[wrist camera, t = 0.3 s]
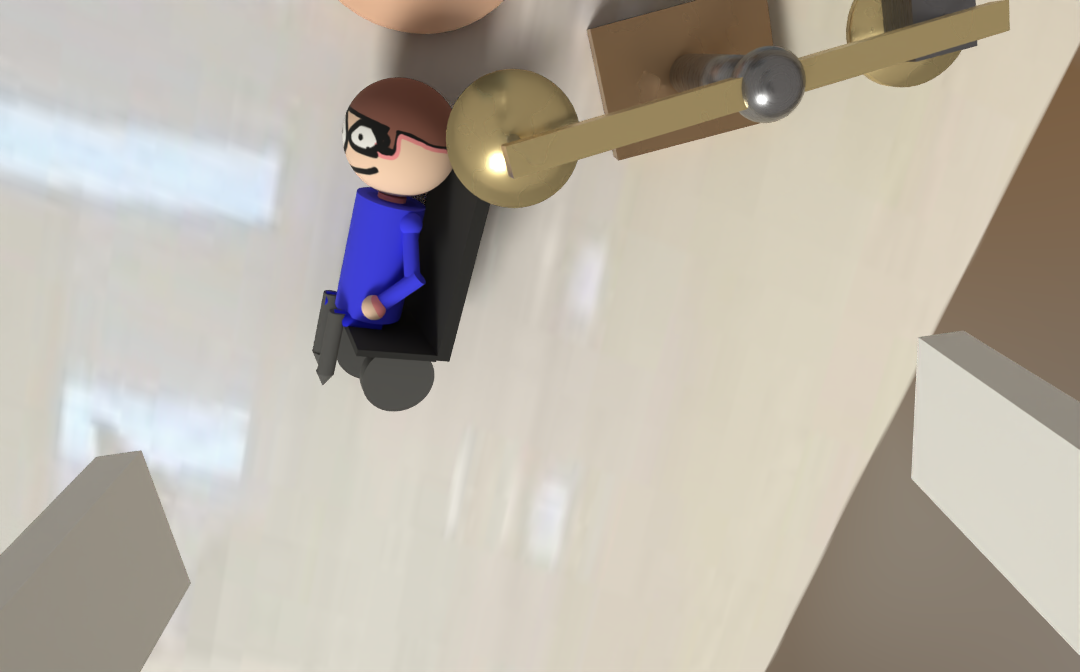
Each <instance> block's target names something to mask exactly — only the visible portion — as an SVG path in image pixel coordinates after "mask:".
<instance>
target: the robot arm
mask: <svg viewBox="0 0 1080 672" xmlns="http://www.w3.org/2000/svg"><path fill="white" fill-rule="evenodd" d="M914 416H915V417H914V435H913V456H912V476H911V479H912V480H913V481H914V482H915V483H916V484H917V485H918V486H919V487H920V488H921V489H922V490H923V491H924V492H925V493H926V494H927V495H928V496H929V497H930V499H932V501H933V502H934V503H935V504H936V505H937V506H938V507H939V508H940V509H941V510H942V511H943V512H944V513H945V514H946V515H947V516H948V517H949V518H950V519H951V521H952V522H953V523H954V524H955V525H956V526H957V527H958V528H959V529H960V530H961V531H962V532H963V533H964V534H965V535H966V536H967V537H968V538H969V539H970V541H972V543H973V544H974V545H975V546H976V547H977V548H978V549H979V550H980V551H981V552H982V553H983V554H984V555H985V556H986V557H987V558H988V560H990V561H991V563H992V564H993V565H994V566H995V567H996V568H997V569H998V570H999V571H1000V572H1001V573H1002V574H1003V575H1004V576H1005V577H1006V578H1007V579H1008V580H1009V582H1010V583H1011V584H1012V585H1013V586H1014V587H1015V588H1016V589H1017V590H1018V591H1019V592H1020V593H1021V594H1022V595H1023V596H1024V597H1025V598H1026V599H1027V600H1028V602H1029V603H1030V604H1031V605H1032V606H1033V607H1034V608H1035V609H1036V610H1037V611H1038V612H1039V613H1040V614H1041V615H1042V616H1043V617H1044V618H1045V619H1046V620H1047V622H1049V624H1050V625H1051V626H1052V627H1053V628H1054V629H1055V630H1056V631H1057V632H1058V633H1059V634H1060V635H1061V636H1062V637H1063V638H1064V639H1065V640H1066V641H1067V643H1068V644H1069V645H1070V646H1071V647H1072V648H1073V649H1074V650H1075V651H1076V652H1077V653H1078V654H1079V655H1080V402H1078V401H1077V400H1075V399H1074V398H1072V397H1070V396H1069V395H1067V394H1066V393H1064V392H1062V391H1060V390H1059V389H1057V388H1056V387H1054V386H1053V385H1051V384H1049V383H1048V382H1046V381H1044V380H1043V379H1041V378H1040V377H1038V376H1036V375H1035V374H1033V373H1031V372H1030V371H1028V370H1026V369H1025V368H1023V367H1022V366H1020V365H1018V364H1017V363H1015V362H1014V361H1012V360H1010V359H1009V358H1007V357H1005V356H1004V355H1002V354H1000V353H999V352H997V351H995V350H994V349H992V348H990V347H989V346H988V345H986V344H984V343H983V342H981V341H979V340H978V339H976V338H975V337H973V336H971V335H970V334H968V333H966V332H965V331H958V332H951V333H945V334H937V335H931V336H924V337H918V351H917V372H916V393H915V414H914ZM190 584H191V583H190V580H189V577H188V575H187V572H186V569H185V566H184V564H183V561H182V558H181V556H180V553H179V550H178V548H177V545H176V542H175V540H174V537H173V534H172V532H171V529H170V526H169V523H168V521H167V518H166V515H165V513H164V510H163V507H162V505H161V502H160V499H159V497H158V494H157V491H156V489H155V486H154V483H153V481H152V478H151V475H150V472H149V470H148V467H147V464H146V462H145V459H144V456H143V454H142V451H134V452H127V453H120V454H113V455H106V456H99V457H96V458H95V459H94V460H93V461H92V462H91V463H90V464H89V465H88V466H87V467H86V468H85V469H84V470H83V471H82V472H81V473H80V474H79V475H78V476H77V477H76V478H75V479H74V480H73V481H72V482H71V483H70V484H69V485H68V486H67V487H66V488H65V489H64V490H63V491H62V492H61V493H60V494H59V495H58V496H57V497H56V499H55V500H54V501H53V502H52V503H51V504H50V505H49V506H48V507H47V508H46V509H45V510H44V511H43V512H42V513H41V514H40V515H39V516H38V517H37V518H36V519H35V520H34V521H33V522H32V523H31V524H30V525H29V526H28V527H27V528H26V529H25V530H24V531H23V532H22V533H21V534H20V535H19V536H18V537H17V539H16V540H15V541H14V542H13V543H12V544H11V545H10V546H9V547H8V548H7V549H6V550H5V551H4V552H3V553H2V554H1V555H0V672H140V671H141V669H142V668H143V666H144V664H145V662H146V661H147V659H148V657H149V655H150V654H151V652H152V650H153V648H154V647H155V645H156V643H157V641H158V640H159V638H160V636H161V634H162V633H163V631H164V629H165V627H166V626H167V624H168V622H169V620H170V619H171V617H172V615H173V613H174V612H175V610H176V608H177V606H178V605H179V603H180V601H181V599H182V598H183V596H184V594H185V592H186V591H187V589H188V587H189V585H190Z"/></svg>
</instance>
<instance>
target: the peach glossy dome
mask: <svg viewBox="0 0 1080 672" xmlns="http://www.w3.org/2000/svg"><path fill="white" fill-rule="evenodd" d="M339 1H340V2H341V3H342V4H343V5H345V6H346V7H348V8H349V9H351V10H352V11H353V12H355V13H356V14H358V15H359V16H361V17H363V18H365V19H367V20H369V21H371V22H373V23H375V24H378V25H381V26H383V27H386V28H389V29H393V30H397V31H402V32H407V33H417V34H433V33H442V32H447V31H453V30H456V29H459V28H462V27H465V26H467V25H470V24H472V23H474V22H476V21H478V20H479V19H481V18H483V17H485V16H486V15H487V14H489V13H490V12H492V11H493V10H494V9H496V8H497V7H498V6H499V5H500V4H501V3H502V2H503V1H504V0H339Z"/></svg>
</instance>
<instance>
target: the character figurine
mask: <svg viewBox="0 0 1080 672" xmlns="http://www.w3.org/2000/svg"><path fill="white" fill-rule="evenodd" d="M451 111H452V109H451V107H450V105H449V104H448V103H447V101H446V100H445V99H444V98H443V97H442V96H441V95H440V94H439V93H438V92H437V91H436V90H434V89H433V88H431V87H430V86H428V85H426V84H424V83H422V82H420V81H417V80H414V79H409V78H399V77H395V78H387V79H383V80H380V81H377V82H375V83H373V84H371V85H369V86H367V87H366V88H365V89H363V90H362V91H361V92H360V93H359V94H358V95H357V96H356V97H355V98H354V100H353V101H352V103H351V104H350V106H349V108H348V110H347V112H346V115H345V118H344V122H343V129H342V140H343V147H344V151H345V154H346V157H347V159H348V161H349V163H350V165H351V167H352V168H353V170H354V171H355V173H356V174H357V175H358V176H359V177H360V178H361V179H362V180H363V181H364V182H365V183H366V184H368V185H369V186H370V187H363V188H359V189H358V190H357V194H356V199H355V204H354V209H353V214H352V219H351V224H350V229H349V234H348V239H347V244H346V250H345V255H344V260H343V265H342V270H341V275H340V280H339V285H338V290H337V292H336V291H332V290H325V291H324V294H323V299H322V304H321V309H320V314H319V320H318V325H317V330H316V335H315V341H314V346H313V350H312V351H313V353H314V356H315V358H316V360H317V363H318V369H317V370H316V371H317V374H318V376H319V378H320V381H321V383H322V385H324V384H325V383H326V382H327V381H328V380H329V379H330V378H331V377H332V375H334V371H335V366H336V361H337V360H338V362H339V364H340V366H341V367H342V368H343V369H344V370H345V371H346V372H347V373H348V374H350V375H352V376H354V377H357V378H360V383H361V386H362V389H363V391H364V394H365V396H366V398H367V399H368V400H369V401H370V402H371V403H372V404H373V405H374V406H376V407H377V408H380V409H382V410H386V411H402V410H406V409H409V408H411V407H413V406H415V405H417V404H418V403H419V402H421V401H422V400H423V399H424V398H425V397H426V396H427V394H428V393H429V391H430V390H431V388H432V385H433V381H434V368H433V365H432V363H431V362H436V360H437V361H448V362H449V361H450V357H451V353H452V349H453V345H454V342H455V338H456V334H457V330H458V326H459V322H460V318H461V314H462V311H463V307H464V303H465V299H466V295H467V291H468V287H469V283H470V280H471V276H472V272H473V268H474V264H475V260H476V256H477V252H478V249H479V245H480V241H481V237H482V233H483V229H484V225H485V221H486V218H487V214H488V210H489V206H490V203H488V202H486V201H484V200H482V199H480V198H478V197H477V196H475V195H474V194H473V193H472V192H470V191H469V190H468V189H467V188H466V187H465V186H464V185H463V184H462V182H461V181H460V180H459V178H458V177H457V175H456V174H455V172H454V170H453V168H452V166H451V163H450V160H449V157H448V153H447V147H446V129H447V123H448V119H449V116H450V113H451ZM426 192H428V194H427V199H426V203H425V205H424V204H422V203H421V202H420V201H418V200H416V199H414V198H412V197H410V196H416V195H420V194H423V193H426Z"/></svg>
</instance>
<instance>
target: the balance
mask: <svg viewBox="0 0 1080 672" xmlns="http://www.w3.org/2000/svg"><path fill="white" fill-rule="evenodd" d="M1009 30H1010V24H1009V0H1001V1H994V2H988V3H985V4H982V5H978V6H976V2H975V0H854V1H853V3H852V5H851V8H850V11H849V15H848V20H847V27H846V40H847V44H844V45H841V46H838V47H834V48H831V49H827V50H824V51H820V52H817V53H814V54H810V55H807V56H803V57H800V58H798V57H797V56H796V55H795V54H793V53H792V52H791V51H789V50H787V49H785V48H783V47H779V46H773V41H772V33H771V26H770V18H769V10H768V3H767V0H695V1H692V2H688V3H684V4H681V5H677V6H673V7H670V8H666V9H662V10H659V11H655V12H651V13H647V14H644V15H640V16H636V17H633V18H629V19H625V20H622V21H618V22H614V23H611V24H607V25H603V26H599V27H596V28H592V29H588V30H587V33H588V38H589V43H590V48H591V52H592V57H593V62H594V66H595V71H596V76H597V80H598V85H599V90H600V94H601V99H602V104H603V108H604V113H605V115H601V116H598V117H594V118H591V119H587V120H584V121H581V122H579V121H578V117H577V114H576V112H575V110H574V107H573V105H572V104H571V102H570V101H569V99H568V98H567V96H566V95H565V94H564V93H563V91H562V90H561V89H560V88H559V87H558V86H556V85H555V84H554V83H553V82H551V81H550V80H548V79H547V78H545V77H543V76H541V75H539V74H536V73H534V72H531V71H527V70H521V69H504V70H499V71H495V72H492V73H489V74H486V75H484V76H483V77H481V78H479V79H477V80H476V81H475V82H473V83H472V84H471V85H470V86H469V87H467V88H466V89H465V90H464V92H463V93H462V94H461V95H460V97H459V98H458V100H457V101H456V103H455V104H454V106H453V109H452V111H451V113H450V116H449V119H448V123H447V129H446V147H447V153H448V157H449V160H450V163H451V166H452V168H453V170H454V172H455V174H456V175H457V177H458V178H459V180H460V181H461V182H462V184H463V185H464V186H465V187H466V188H467V189H468V190H469V191H470V192H472V193H473V194H474V195H475V196H477V197H478V198H480V199H482V200H484V201H486V202H488V203H490V204H493V205H496V206H501V207H508V208H520V207H527V206H531V205H534V204H537V203H540V202H542V201H544V200H546V199H548V198H549V197H551V196H552V195H554V194H555V193H556V192H557V191H558V190H560V189H561V187H562V186H563V185H564V184H565V183H566V182H567V180H568V179H569V177H570V176H571V174H572V172H573V170H574V168H575V166H576V163H577V161H578V160H579V159H582V158H586V157H589V156H592V155H596V154H599V153H602V152H606V151H609V150H612V151H613V155H614V157H615V158H616V159H617V160H622V159H626V158H630V157H633V156H637V155H641V154H645V153H649V152H652V151H656V150H660V149H664V148H668V147H671V146H675V145H679V144H683V143H687V142H690V141H694V140H698V139H702V138H706V137H709V136H713V135H717V134H721V133H725V132H728V131H732V130H736V129H740V128H744V127H747V126H751V125H755V124H759V123H770V122H775V121H778V120H780V119H782V118H784V117H786V116H788V115H789V114H790V113H791V112H792V111H793V110H794V109H795V108H796V107H797V106H798V104H799V103H800V101H801V99H802V97H803V95H804V92H806V91H809V90H812V89H816V88H819V87H822V86H826V85H829V84H832V83H836V82H839V81H842V80H846V79H849V78H852V77H856V76H859V75H862V74H863V75H865V76H866V77H867V78H868V79H870V80H872V81H874V82H876V83H878V84H881V85H885V86H893V87H911V86H916V85H920V84H923V83H925V82H927V81H929V80H932V79H933V78H935V77H936V76H938V75H940V74H941V73H942V72H943V71H945V70H946V69H947V68H948V67H949V66H950V65H951V64H952V63H953V62H954V60H955V59H956V58H957V57H958V55H959V54H960V52H961V50H963V49H967V48H970V47H974V46H977V40H979V39H982V38H986V37H989V36H992V35H996V34H999V33H1002V32H1006V31H1009Z"/></svg>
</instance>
